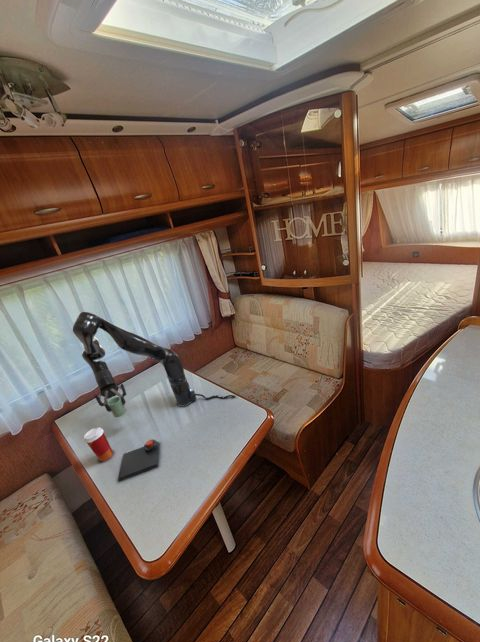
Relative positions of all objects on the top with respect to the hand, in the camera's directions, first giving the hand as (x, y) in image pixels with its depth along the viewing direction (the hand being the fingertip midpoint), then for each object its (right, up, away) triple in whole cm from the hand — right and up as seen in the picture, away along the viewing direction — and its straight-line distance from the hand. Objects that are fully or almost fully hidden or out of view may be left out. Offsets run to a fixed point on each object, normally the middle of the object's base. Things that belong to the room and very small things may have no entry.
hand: (117, 407), depth 137 cm
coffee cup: (-1, -21, -7) cm, 23 cm away
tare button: (+21, -15, -11) cm, 28 cm away
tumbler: (0, -4, +3) cm, 5 cm away
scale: (+19, -20, -14) cm, 31 cm away
